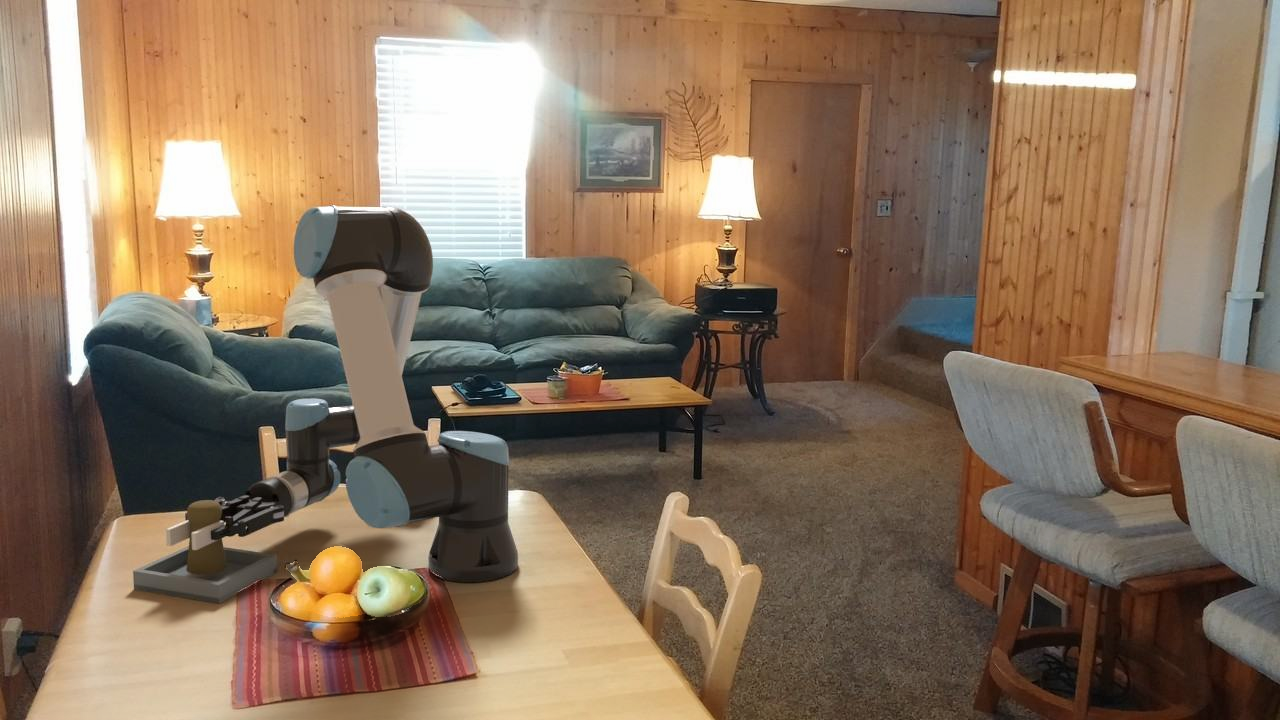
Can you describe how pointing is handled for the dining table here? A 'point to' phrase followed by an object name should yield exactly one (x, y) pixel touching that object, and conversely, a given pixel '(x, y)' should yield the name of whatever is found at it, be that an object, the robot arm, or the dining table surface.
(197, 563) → the cork
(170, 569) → the tray
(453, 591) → the dining table surface
